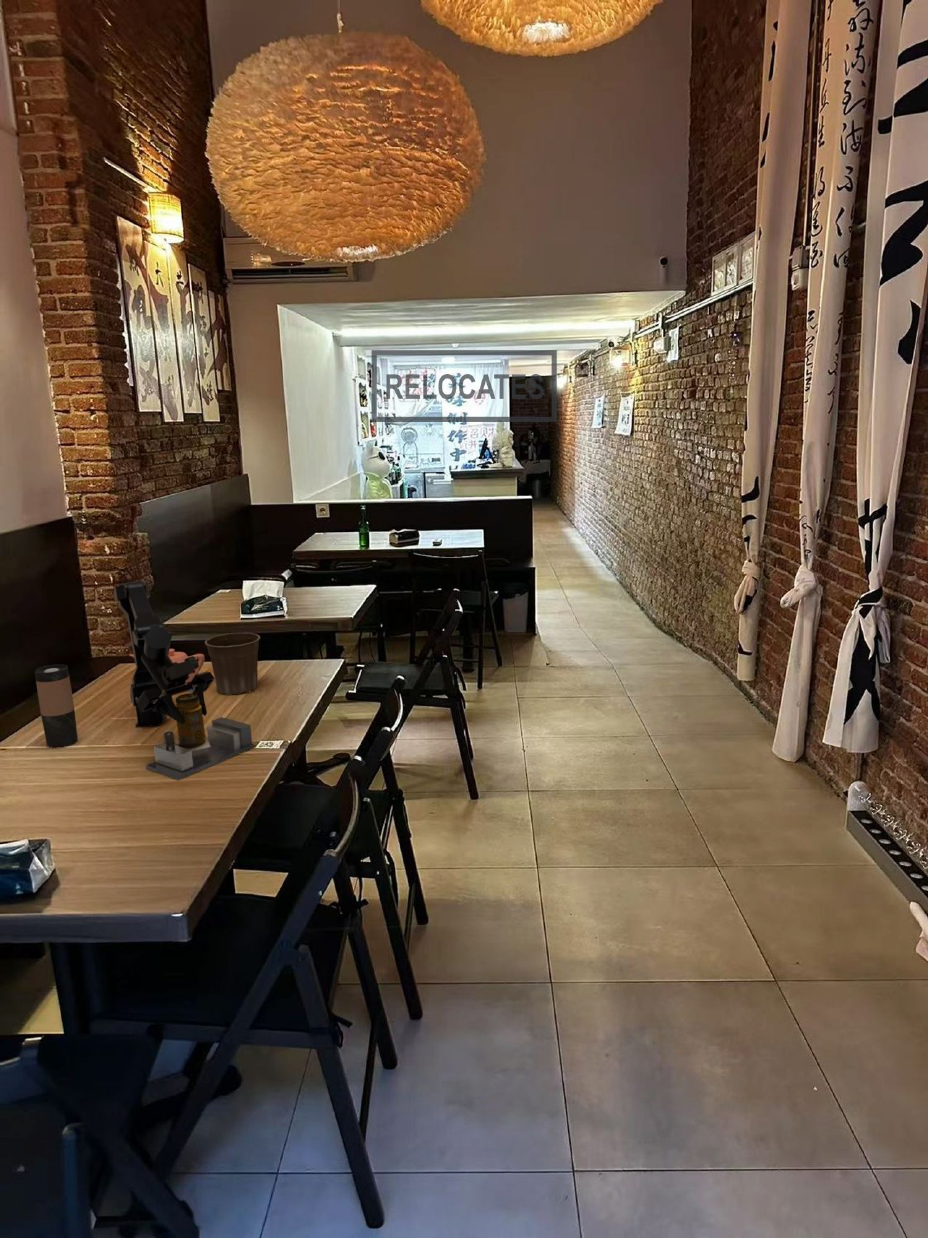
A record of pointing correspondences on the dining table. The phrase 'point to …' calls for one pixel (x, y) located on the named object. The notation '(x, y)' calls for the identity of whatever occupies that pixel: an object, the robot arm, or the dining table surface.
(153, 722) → the robot arm
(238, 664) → the plant pot
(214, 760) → the vise
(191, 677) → the teapot
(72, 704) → the travel mug
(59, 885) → the dining table surface
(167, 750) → the sliding jaw
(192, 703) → the condiment
